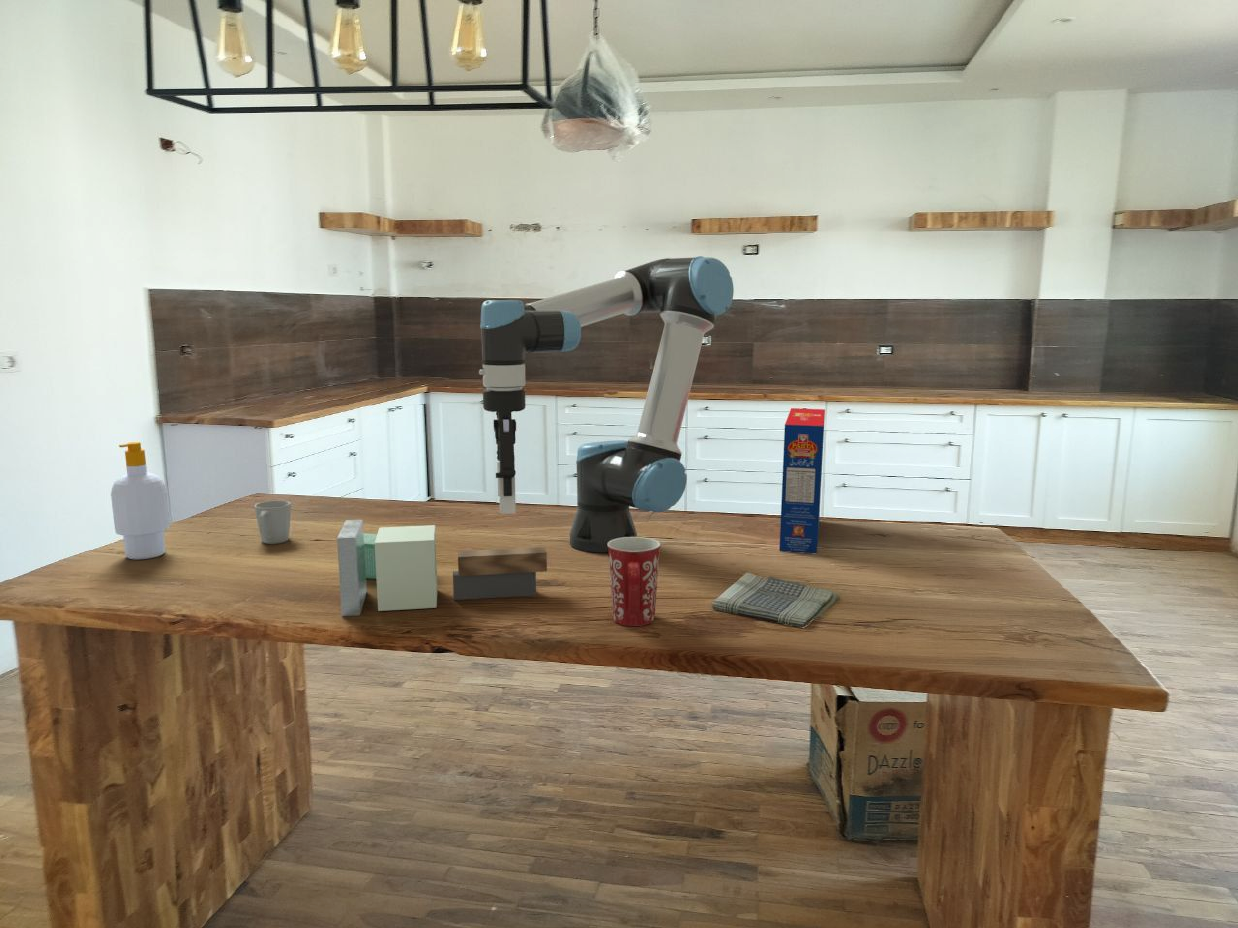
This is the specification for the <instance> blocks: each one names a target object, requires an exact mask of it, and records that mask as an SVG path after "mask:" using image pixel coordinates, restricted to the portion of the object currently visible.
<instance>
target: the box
mask: <svg viewBox="0 0 1238 928" xmlns="http://www.w3.org/2000/svg"><path fill="white" fill-rule="evenodd" d="M377 534H378V533H368V532H363V535H364V553H365V571H366V579H372V580H377V579H376V560H375V540H376V537H377Z"/></svg>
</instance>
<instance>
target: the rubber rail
mask: <svg viewBox="0 0 1238 928" xmlns="http://www.w3.org/2000/svg"><path fill="white" fill-rule="evenodd" d="M452 583H453V584H452V585H453V586H452V587H453V590H452V591H453V600H454V601H461V600H478V599H494V598H509V597H510V598H511V597H512V598H513V597H526V596H527V597H528V596H529V597H531V596H537V572H527V573H508V574H490V575H472V576H459V574H458V570H453V571H452Z"/></svg>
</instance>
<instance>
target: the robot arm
mask: <svg viewBox="0 0 1238 928" xmlns="http://www.w3.org/2000/svg"><path fill="white" fill-rule="evenodd" d="M733 282H734V281H733V277H732V276H731V273H730V270H729V269H728V267H727V266H726V265H725V263H723V261H721V260H720V259H718V258H715V257H704V256H695V257H680V258H679V257H676V258H671V257H669V258H668V257H667V258H666V257H665V258H660V259H656V260H653V261H650V262H647V263H644V264H641V265H637V266H635V267H632V268H629V269H626V270H623V271H619V272H618V273H617V274H615V276H614V277H613V279H609V280H605V281H601V282H598V283H594V284H592V285H589V286H585V287H581V288H578V289H575V290H570V291H568V292H564V293H560V294H557V295H553V296H551V297H550V296H549V297H546V298H543V299H540V300H536V301H533V302H530V303H526V304H524V302H523V301H522V300H515V299H514V300H513V299H510V300H509V299H507V300H505V299H504V300H502V299H501V300H499V299H498V300H496V299H488V300H485V301H483V302H482V305H481V309H480V310H481V312H480V325H479V327H480V331H481V333H480V334H481V335H480V336H481V338H480V339H481V359H482V361H481V363H482V369H479V371H478V375H480V376H481V375H482V376H483V377H482V386H483V387H485V388H484V390H482V407H483V409H484V410H485V411H487V412H490V413H495V415H496V419H493V431H494V438H495V443H496V445H497V446H496V448H497V449H496V450H497V451H496V455H497V456H496V460H497V466H496V467H497V472H495V479H497V497H499V514H500V515H506V514H507V515H511V514H516V509H517V507H516V503H517V502H516V477H515V476H516V469H515V467H516V466H515V465H516V464H515V461H516V459H515V458H516V457H515V444H516V432H517V421H516V418H514V419H512V413H513V412H521V411H524V410H525V409H526V407H527V405H526V391H525V389H524V388H523V387H525V385H527V384H526V354H537V353H538V354H540V353H541V354H542V353H562V352H570V351H573V350H574V349H576V348H577V347H578V345H579V344H580V342H581V338H582V331H581V330H582V327H585V326H588V325H591V324H594V323H598V322H600V321H604V320H607V319H610V318H613V317H616V316H619V315H623V314H624V315H625V316H630V317H631V316H632V317H633V316H635V315H638V314H642V313H643V314H644V313H645V314H646V313H659V316H660V318H661V319H662V322H663V323H664V326H663V328H662V329H663V331H662V334H661V338H660V342H659V345H658V350H657V354H656V358H655V362H654V365H653V371H652V374H651V378H650V381H649V386H648V390H647V394H646V396H645V402H644V405H643V410H642V413H641V417H640V421H639V425H638V430H637V433H636V434H635V435H633V436H632V437H631V438H629V439H628V440H624V439H623V440H604V441H596V442H595V441H594V442H587V443H583V444H581V445H580V446H579V447H578V449H577V451H576V452H577V454H576V455H577V456H576V461H575V463H576V488H577V489H576V497H577V498H576V500H577V503H576V504H577V505H576V507H577V509H576V513H575V517H574V518H573V522H572V525H571V529H570V531H569V546H571V547H572V548H574V549H577V550H580V551H585V552H589V553H590V552H591V553H609V549H608V546H607V543H608V542H609V541H611V540H613V539H617V538H623V537H638V533H637V530H636V526H635V522H634V520H633V516H632V514H631V511H630V507H631V508H634V509H638V510H639V511H643V512H652V513H663V512H666V511H668V510H670V509H671V508H672V507H673V506H675V505H677V503H678V502H679V501H680V499H681V498H682V497H683V495H684V493H685V490H686V487H687V480H688V477H687V474H686V467H685V466H684V464H683V463H682V462H681V459H682V455H683V454H682V451H681V449H680V447H679V446H678V441H679V436H680V431H681V428H682V425H683V420H684V417H685V413H686V408H687V406H688V400H689V396H690V393H691V388H692V385H693V381H694V377H695V373H696V369H697V365H698V361H699V356H700V352H701V348H702V344H703V340H704V338H705V334H706V333H707V332H710V331H711V330H712V329H714V326H715V323H716V319H717V316H720V315H722V314H724V313H725V312H726V311H728V310H729V308H730V307H731V305H732V304H733V303H732V302H733V299H734V287H735V286H734V283H733Z"/></svg>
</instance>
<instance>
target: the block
mask: <svg viewBox="0 0 1238 928" xmlns="http://www.w3.org/2000/svg"><path fill="white" fill-rule="evenodd" d="M376 534H377V537H376V540H375V560H376V579H375V580H376V593H377V594H376V596H377V611H378V612H383V611H386V612H387V611H401V610H417V609H433V608H434V609H435V608H437V607H438V605H437V604H438V590H439V589H438V567H437V565H438V563H437V540H436V539H437V538H436V537H437V535H436V524H432V525H430V524H429V525H428V524H427V525H408V526H407V525H406V526H388V527H387V526H383V527H378V531H377V533H376Z"/></svg>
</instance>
